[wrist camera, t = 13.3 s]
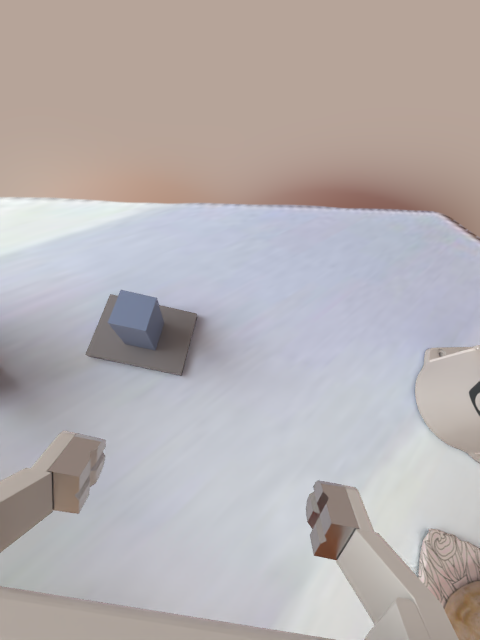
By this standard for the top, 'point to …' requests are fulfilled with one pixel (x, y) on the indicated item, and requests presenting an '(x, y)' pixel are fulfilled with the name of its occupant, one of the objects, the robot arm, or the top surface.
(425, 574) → the cookie jar
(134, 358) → the marker stand
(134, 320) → the blue rectangular block
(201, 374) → the top surface
